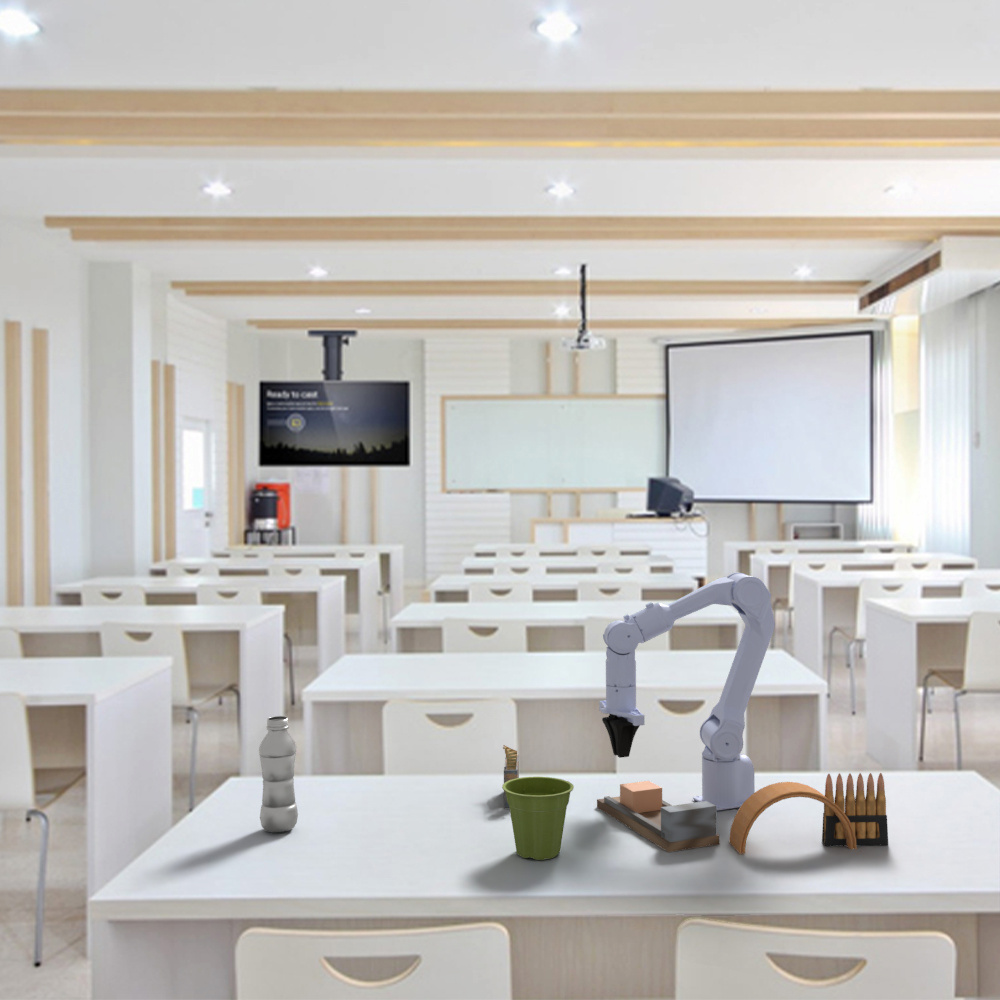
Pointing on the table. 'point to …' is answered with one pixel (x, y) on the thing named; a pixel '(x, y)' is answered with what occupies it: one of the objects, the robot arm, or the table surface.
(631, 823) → the keeper track
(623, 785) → the block
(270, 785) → the plastic bottle
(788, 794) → the arch
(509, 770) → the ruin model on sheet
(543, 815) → the plant pot
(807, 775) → the table surface
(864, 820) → the ammunition clip
